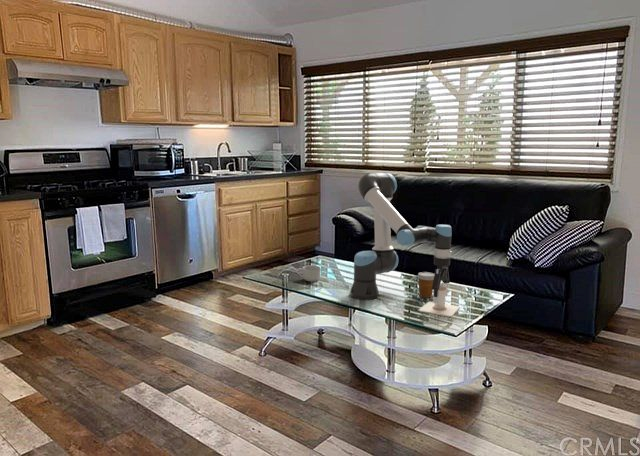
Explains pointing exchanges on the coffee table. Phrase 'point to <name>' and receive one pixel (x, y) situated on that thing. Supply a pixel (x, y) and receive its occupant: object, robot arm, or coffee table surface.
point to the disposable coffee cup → (425, 284)
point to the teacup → (310, 273)
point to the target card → (448, 310)
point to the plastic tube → (441, 297)
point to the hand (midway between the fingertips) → (440, 299)
